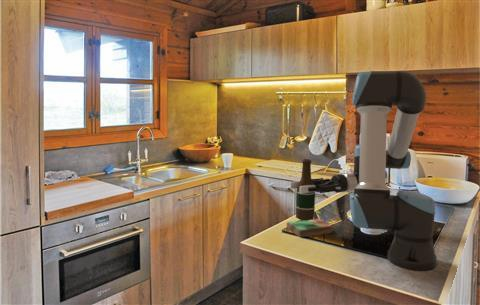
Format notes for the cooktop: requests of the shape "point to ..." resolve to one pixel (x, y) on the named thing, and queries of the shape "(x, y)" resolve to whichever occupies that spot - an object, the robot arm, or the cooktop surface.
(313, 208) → the beer bottle
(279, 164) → the cooktop surface
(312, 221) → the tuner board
